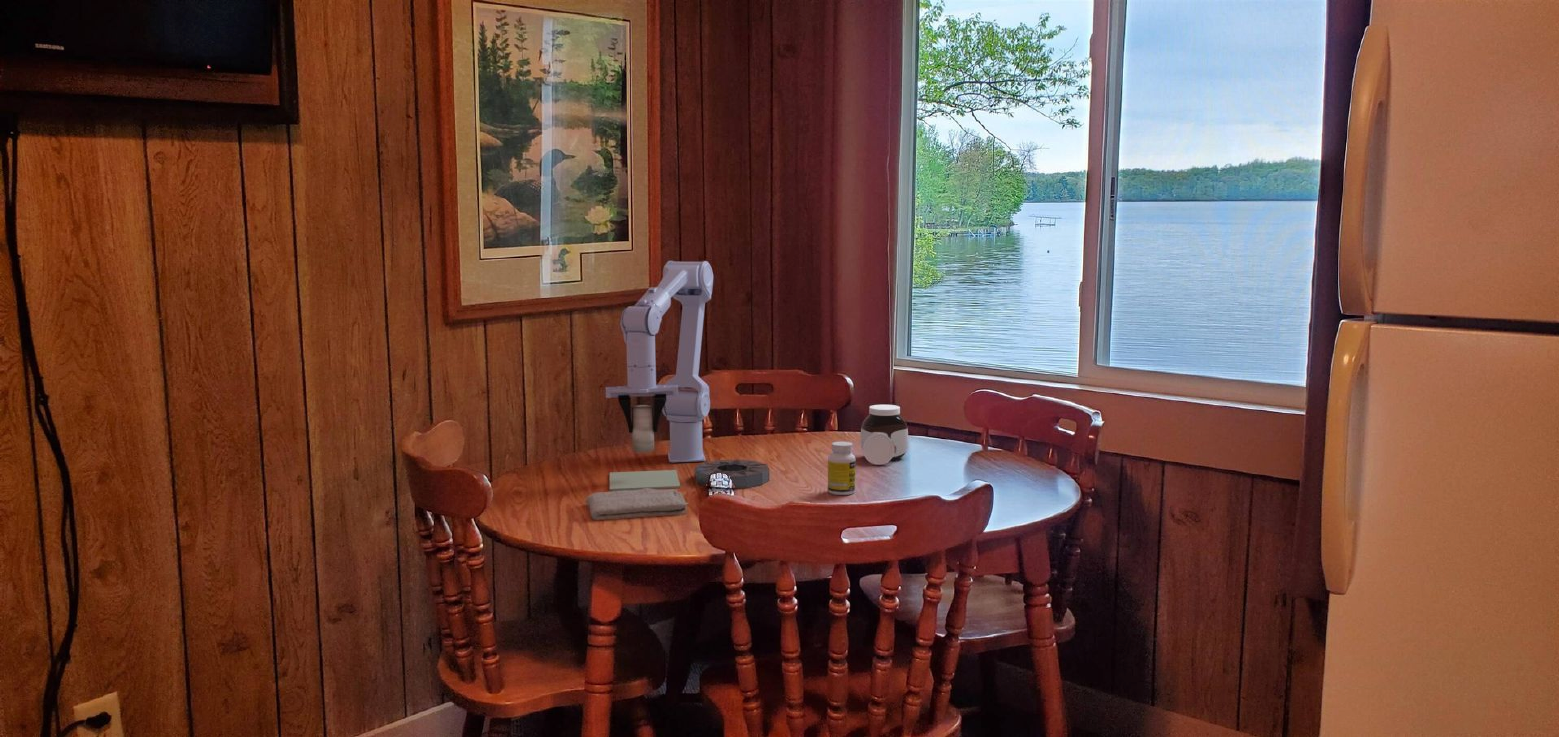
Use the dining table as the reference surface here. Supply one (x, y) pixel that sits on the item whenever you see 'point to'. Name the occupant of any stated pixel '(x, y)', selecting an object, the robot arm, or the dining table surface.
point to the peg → (642, 428)
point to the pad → (644, 480)
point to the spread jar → (884, 434)
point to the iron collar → (734, 472)
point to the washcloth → (635, 504)
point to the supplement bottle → (841, 469)
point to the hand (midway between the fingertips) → (642, 431)
